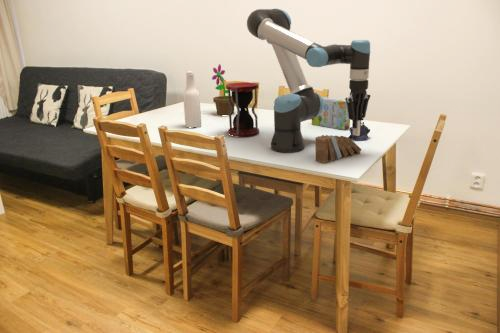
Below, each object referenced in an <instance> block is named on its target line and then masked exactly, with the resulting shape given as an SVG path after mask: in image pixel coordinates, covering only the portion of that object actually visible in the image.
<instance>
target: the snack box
mask: <svg viewBox="0 0 500 333" xmlns="http://www.w3.org/2000/svg"><path fill="white" fill-rule="evenodd" d="M321 97H322V99H323V109H322V112H321V114H320V115H319V116H317V117H315V118H313V119H311V125H312V126H317V127H325V128H330V129H336V130H343V131H346V130H348V129H349V130H350V128H351V119H349V115H348V108H347V102H346V100H345V99H343V98H335V97H334V98H333V97H324V96H321Z"/></svg>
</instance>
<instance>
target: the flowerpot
mask: <svg viewBox="0 0 500 333" xmlns="http://www.w3.org/2000/svg"><path fill="white" fill-rule="evenodd" d="M212 70H213V72H214V75H213V76H212V77H211V80H216V81H215V82H216V83H215V84H216V87H215V88H214V89H215V90H218V91H221V90H222V91H223V95H220V96H215V97H213V98H212V99H213V103H215V109H216V114H218V115H217V116H219V115H230V113H231V111H232V108H231V105H230V104H229V100H228V95H226V94H228V89H226V84H225V80H224V79H225V78H224V77H223V75H224V74H225V73H226V70H223V69H222V65H221V64H218V66H217V68H216V67H213V68H212ZM220 81H221V82H222V84H220ZM230 97H231V103H232V104H233V106H234V107H235V106H236V104H235V103H234V101H233V99H232V95H230ZM232 114H233V115H234V114H235V111H234V112H233V113H232Z"/></svg>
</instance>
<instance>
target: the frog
mask: <svg viewBox="0 0 500 333" xmlns="http://www.w3.org/2000/svg"><path fill="white" fill-rule="evenodd" d="M364 122H365V121H362V122H361V127H360V136H355V135H353V128H352V127H351V126H350V128H349V133H350V134H349V136H347V137H348V138H350V139H351V138H352V139H354V140H355V141H356V142H357V141H365V140H366V141H367V139H369V135H368V134H369V133H370V132H371V129H370V128H369V127H368V126H366V125H365V123H364Z"/></svg>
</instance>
